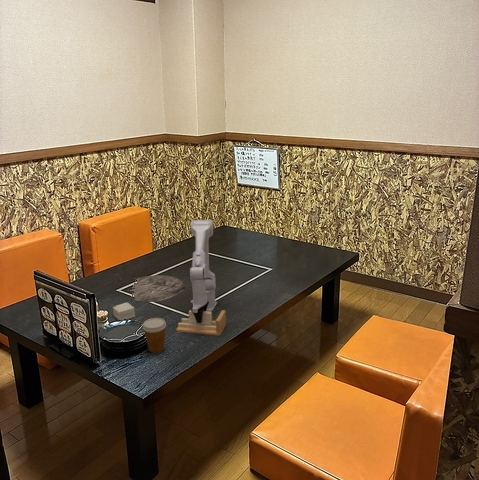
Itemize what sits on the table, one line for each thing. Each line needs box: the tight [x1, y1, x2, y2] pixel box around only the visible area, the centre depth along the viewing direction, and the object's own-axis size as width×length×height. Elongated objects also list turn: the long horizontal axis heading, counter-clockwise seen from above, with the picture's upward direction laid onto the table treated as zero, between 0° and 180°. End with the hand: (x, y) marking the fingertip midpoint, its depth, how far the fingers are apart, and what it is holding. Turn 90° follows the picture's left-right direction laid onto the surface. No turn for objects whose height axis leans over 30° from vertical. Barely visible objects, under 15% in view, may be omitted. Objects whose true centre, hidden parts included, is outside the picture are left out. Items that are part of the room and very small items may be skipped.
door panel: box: [188, 309, 213, 326], centre depth 208 cm, size 2×10×7 cm, turn 76°
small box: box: [112, 302, 136, 321], centre depth 221 cm, size 8×8×5 cm
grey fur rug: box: [130, 274, 186, 303], centre depth 253 cm, size 33×35×1 cm
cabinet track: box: [175, 310, 227, 336], centre depth 208 cm, size 10×20×7 cm, turn 76°
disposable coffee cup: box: [142, 317, 167, 353], centre depth 192 cm, size 10×10×12 cm
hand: (201, 320), depth 208 cm, fingers open, 4 cm apart
